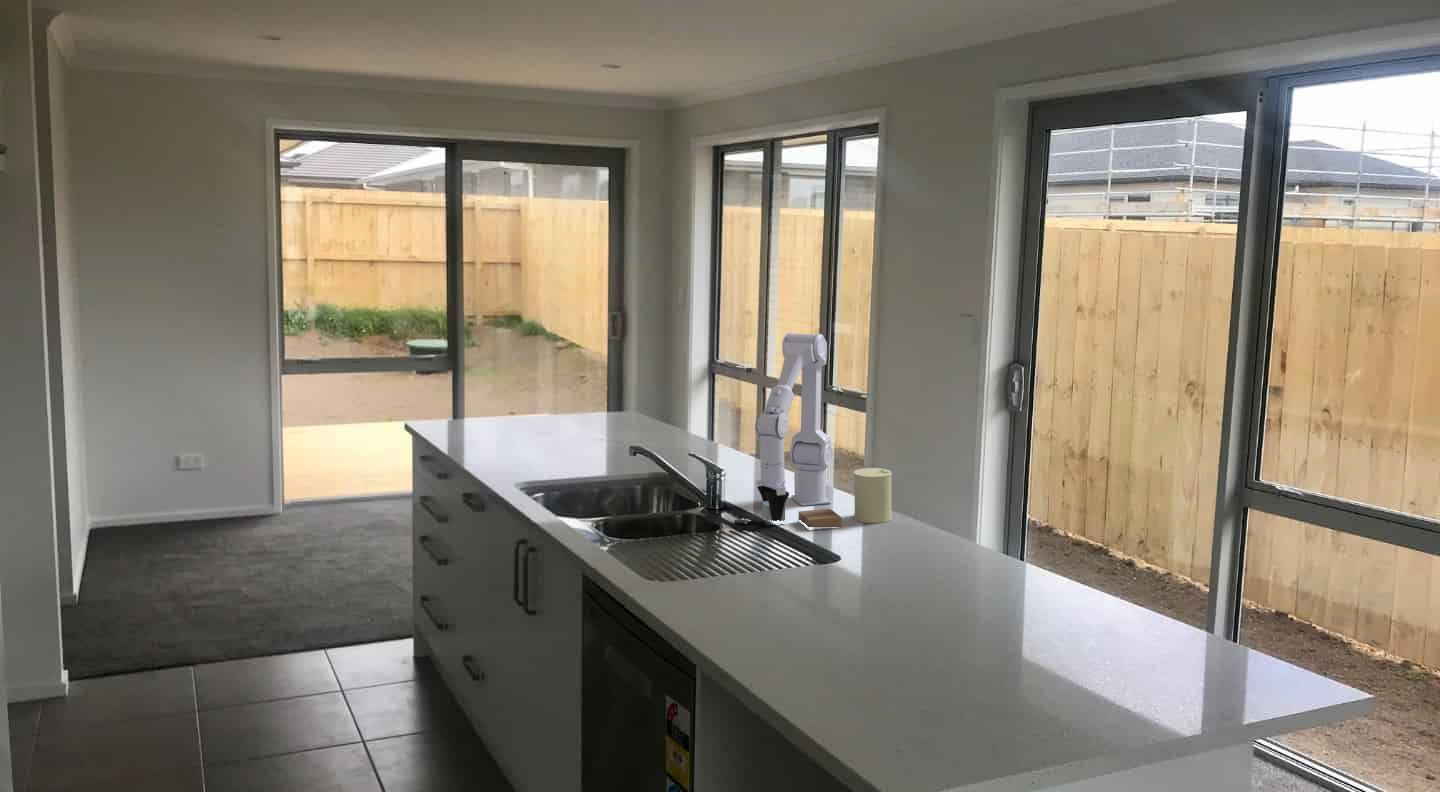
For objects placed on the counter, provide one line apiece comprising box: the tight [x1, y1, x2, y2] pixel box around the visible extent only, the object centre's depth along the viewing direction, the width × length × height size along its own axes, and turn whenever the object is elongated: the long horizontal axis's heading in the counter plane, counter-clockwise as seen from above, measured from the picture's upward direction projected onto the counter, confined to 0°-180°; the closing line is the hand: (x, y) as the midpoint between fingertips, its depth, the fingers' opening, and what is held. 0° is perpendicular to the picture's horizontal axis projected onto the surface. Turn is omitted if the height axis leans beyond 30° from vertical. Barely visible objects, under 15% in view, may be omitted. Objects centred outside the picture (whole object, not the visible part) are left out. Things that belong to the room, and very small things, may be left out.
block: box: [761, 500, 786, 521], centre depth 275 cm, size 4×4×5 cm
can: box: [853, 467, 893, 524], centre depth 276 cm, size 9×9×12 cm
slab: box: [797, 508, 842, 528], centre depth 273 cm, size 8×8×3 cm
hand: (773, 517), depth 275 cm, fingers closed on block, 4 cm apart
